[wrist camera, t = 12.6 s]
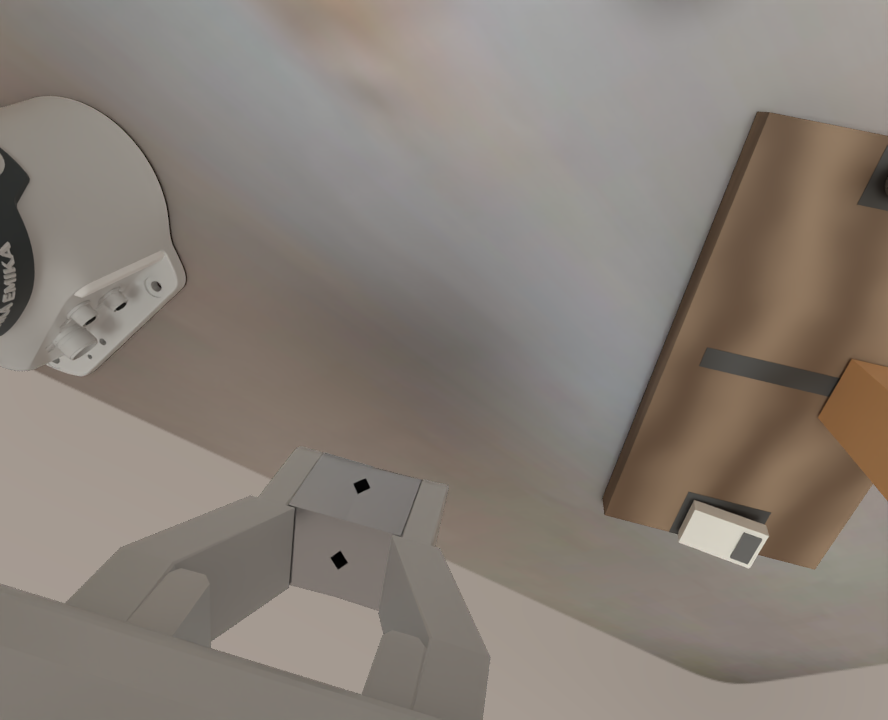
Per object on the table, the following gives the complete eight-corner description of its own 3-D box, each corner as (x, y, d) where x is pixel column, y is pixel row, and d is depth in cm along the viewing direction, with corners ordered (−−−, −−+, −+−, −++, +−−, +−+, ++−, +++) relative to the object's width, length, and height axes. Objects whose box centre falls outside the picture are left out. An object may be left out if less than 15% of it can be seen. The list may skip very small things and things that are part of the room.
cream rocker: (678, 531, 42) (678, 543, 41) (694, 499, 41) (695, 511, 39) (747, 557, 41) (749, 570, 40) (766, 525, 40) (769, 537, 38)
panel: (602, 498, 45) (604, 515, 43) (757, 111, 32) (769, 112, 30) (804, 550, 43) (815, 569, 42) (1050, 170, 31) (1082, 174, 29)
